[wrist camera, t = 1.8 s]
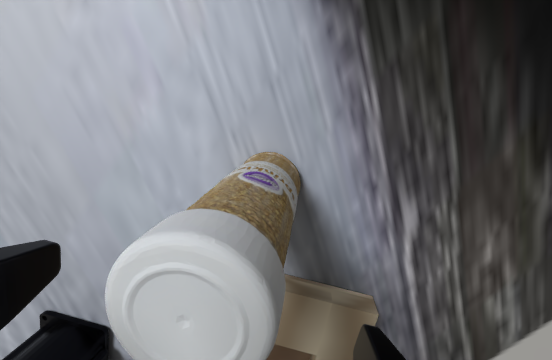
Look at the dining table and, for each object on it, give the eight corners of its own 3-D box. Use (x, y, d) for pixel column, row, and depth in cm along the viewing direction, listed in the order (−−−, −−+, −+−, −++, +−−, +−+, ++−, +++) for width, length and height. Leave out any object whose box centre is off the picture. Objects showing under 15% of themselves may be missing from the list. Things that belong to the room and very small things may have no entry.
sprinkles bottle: (304, 154, 19) (287, 253, 6) (296, 215, 20) (269, 414, 7) (239, 147, 19) (86, 223, 6) (236, 207, 20) (102, 379, 7)
